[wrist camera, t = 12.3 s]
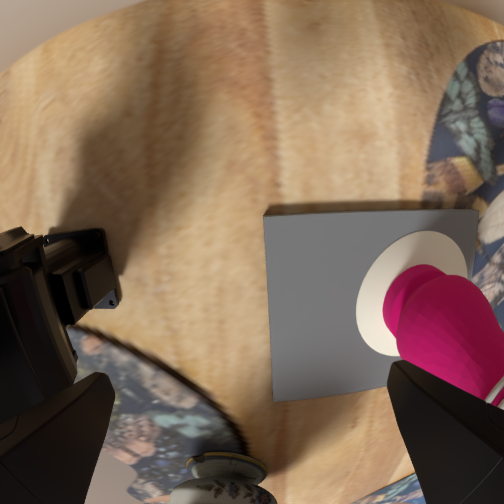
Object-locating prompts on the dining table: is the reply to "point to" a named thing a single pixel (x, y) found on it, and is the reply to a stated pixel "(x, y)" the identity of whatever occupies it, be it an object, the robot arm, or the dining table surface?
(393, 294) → the pepper mill
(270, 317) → the mat
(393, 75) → the dining table surface
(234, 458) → the apothecary jar
